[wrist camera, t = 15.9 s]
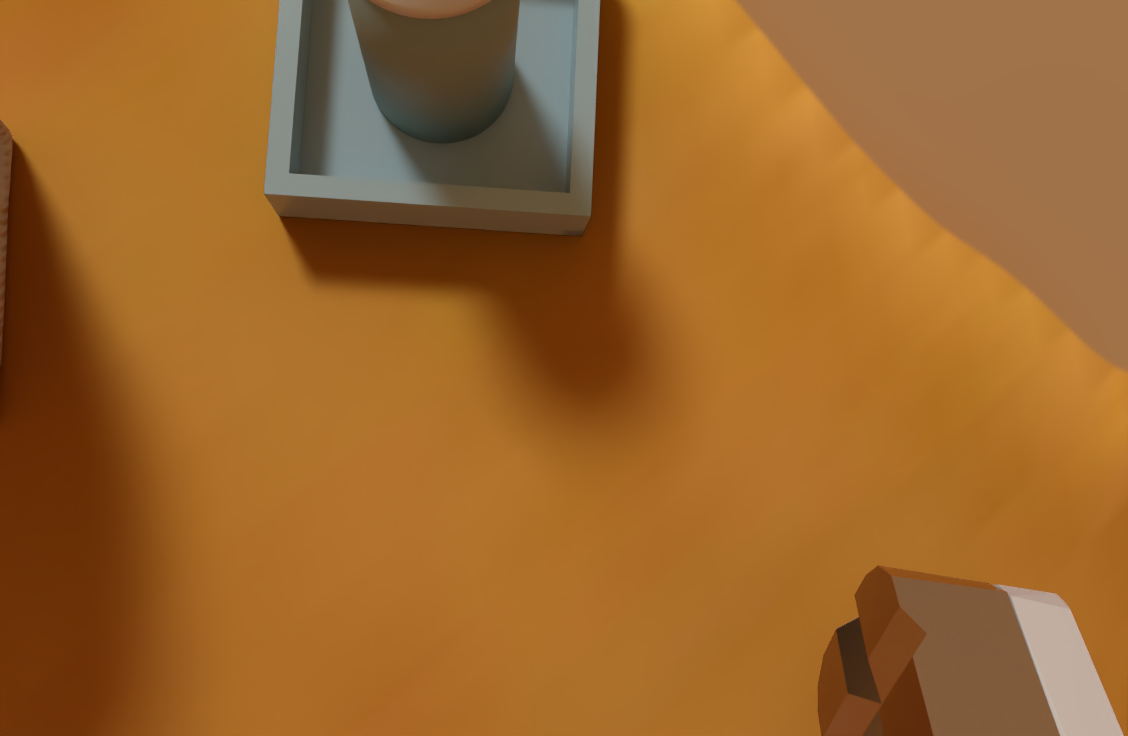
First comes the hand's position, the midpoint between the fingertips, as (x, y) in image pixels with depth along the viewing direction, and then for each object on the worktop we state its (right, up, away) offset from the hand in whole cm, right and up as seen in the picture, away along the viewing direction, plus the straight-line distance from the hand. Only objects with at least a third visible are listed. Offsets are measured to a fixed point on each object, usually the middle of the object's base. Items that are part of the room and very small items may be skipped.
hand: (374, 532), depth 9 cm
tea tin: (-3, +13, +32) cm, 35 cm away
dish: (-3, +13, +33) cm, 35 cm away
